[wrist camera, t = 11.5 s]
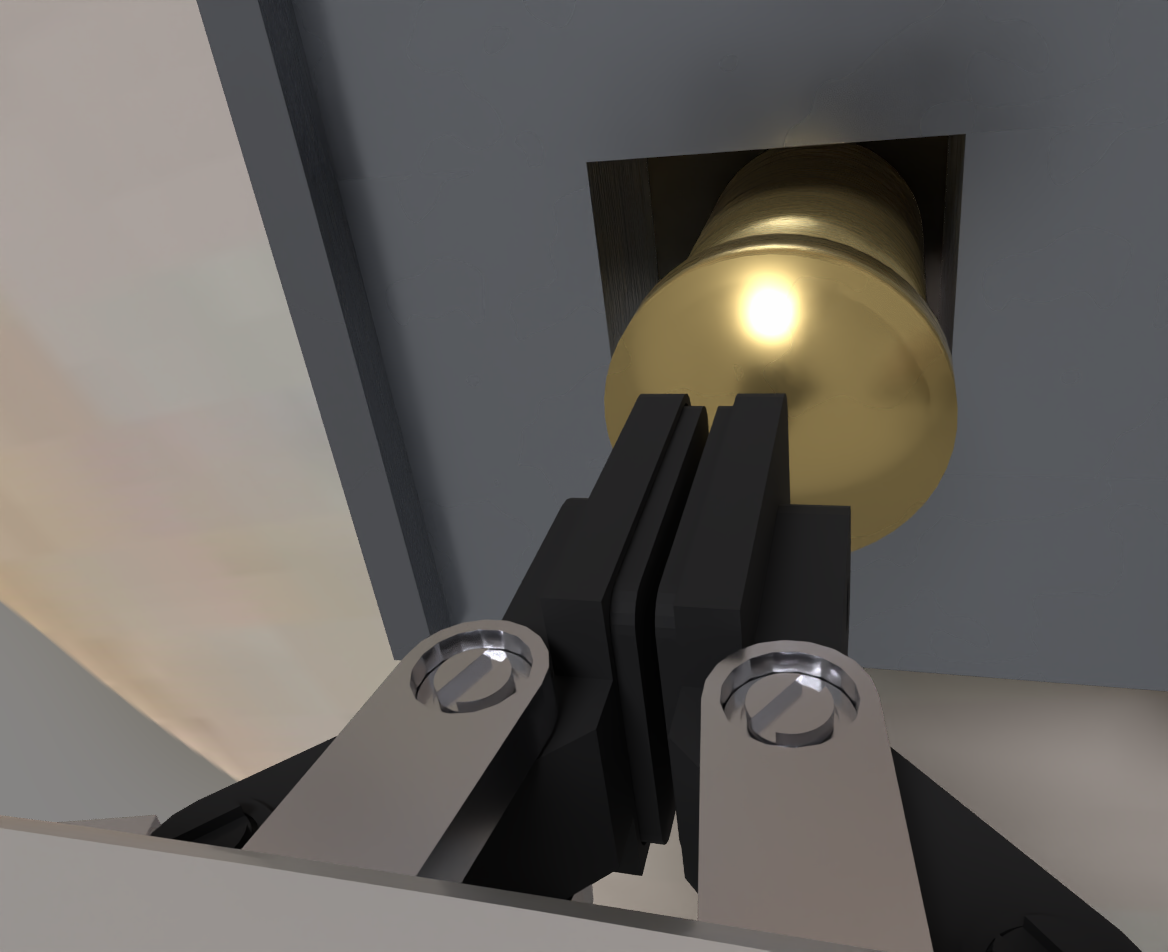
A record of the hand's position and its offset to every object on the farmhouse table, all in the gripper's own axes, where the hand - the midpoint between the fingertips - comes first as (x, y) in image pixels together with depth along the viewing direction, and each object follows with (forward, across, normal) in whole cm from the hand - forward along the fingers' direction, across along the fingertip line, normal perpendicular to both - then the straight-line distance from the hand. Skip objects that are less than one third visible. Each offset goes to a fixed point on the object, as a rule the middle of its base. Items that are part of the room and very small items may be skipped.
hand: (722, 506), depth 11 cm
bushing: (+9, 0, 0) cm, 9 cm away
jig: (+9, 0, 0) cm, 9 cm away
